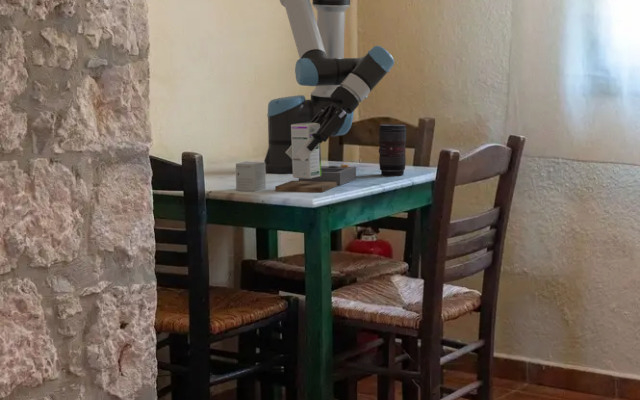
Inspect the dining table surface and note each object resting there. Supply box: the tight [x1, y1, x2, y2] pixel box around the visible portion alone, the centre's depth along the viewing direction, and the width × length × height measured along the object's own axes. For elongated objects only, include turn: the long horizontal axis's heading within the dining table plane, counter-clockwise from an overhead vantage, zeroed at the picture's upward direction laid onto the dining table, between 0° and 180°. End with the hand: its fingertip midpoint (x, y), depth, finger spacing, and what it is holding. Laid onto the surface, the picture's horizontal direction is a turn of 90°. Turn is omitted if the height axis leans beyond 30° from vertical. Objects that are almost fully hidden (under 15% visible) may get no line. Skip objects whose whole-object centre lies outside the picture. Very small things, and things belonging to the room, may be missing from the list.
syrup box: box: [291, 123, 322, 179], centre depth 251 cm, size 6×6×14 cm
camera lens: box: [378, 124, 407, 177], centre depth 280 cm, size 8×8×15 cm
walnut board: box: [274, 180, 338, 193], centre depth 252 cm, size 13×13×1 cm
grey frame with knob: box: [298, 164, 357, 187], centre depth 267 cm, size 12×16×4 cm
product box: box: [235, 161, 267, 192], centre depth 251 cm, size 6×6×7 cm
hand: (294, 157), depth 250 cm, fingers closed on syrup box, 8 cm apart
